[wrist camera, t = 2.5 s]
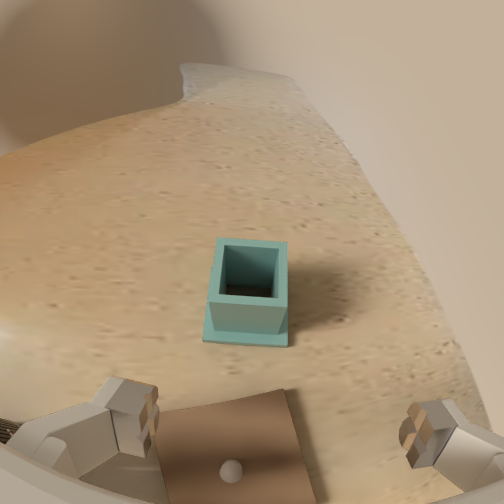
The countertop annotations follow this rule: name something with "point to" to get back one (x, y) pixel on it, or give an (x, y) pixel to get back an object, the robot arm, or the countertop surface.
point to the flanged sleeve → (245, 307)
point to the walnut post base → (233, 453)
